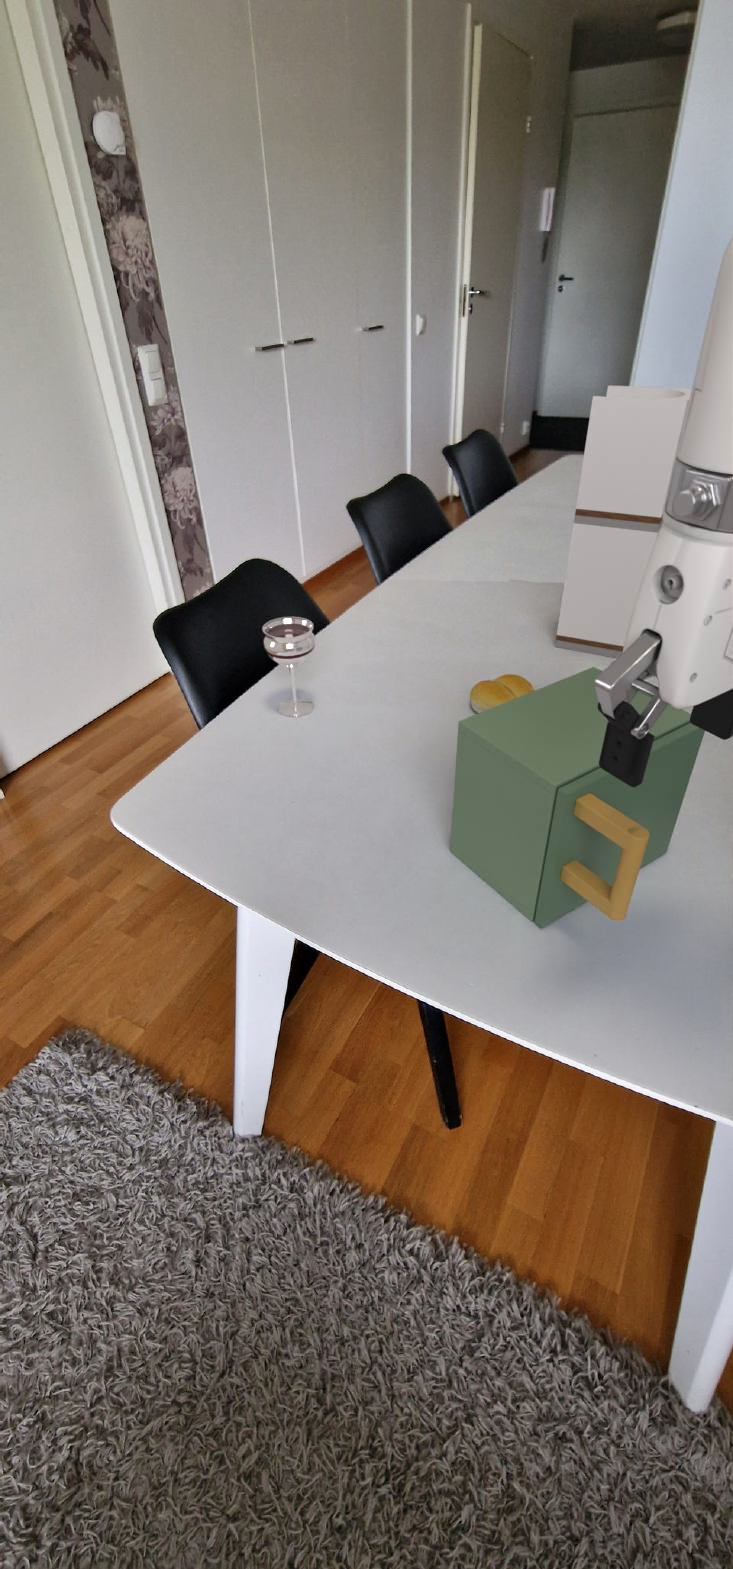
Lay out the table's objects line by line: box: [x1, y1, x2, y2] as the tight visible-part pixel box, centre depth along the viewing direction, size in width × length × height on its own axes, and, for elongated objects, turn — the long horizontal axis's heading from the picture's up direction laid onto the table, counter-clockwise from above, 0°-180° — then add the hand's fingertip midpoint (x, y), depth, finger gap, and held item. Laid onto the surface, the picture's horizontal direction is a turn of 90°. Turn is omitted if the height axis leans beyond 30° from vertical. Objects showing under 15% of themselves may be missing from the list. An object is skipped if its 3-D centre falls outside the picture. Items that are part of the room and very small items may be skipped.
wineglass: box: [261, 616, 316, 718], centre depth 94 cm, size 7×7×12 cm
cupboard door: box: [533, 723, 706, 930], centre depth 62 cm, size 7×18×16 cm, turn 124°
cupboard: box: [449, 666, 691, 923], centre depth 69 cm, size 12×18×16 cm, turn 124°
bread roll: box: [469, 673, 536, 714], centre depth 96 cm, size 8×9×4 cm
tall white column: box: [554, 384, 692, 659], centre depth 102 cm, size 11×11×35 cm
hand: (666, 752), depth 49 cm, fingers open, 9 cm apart
